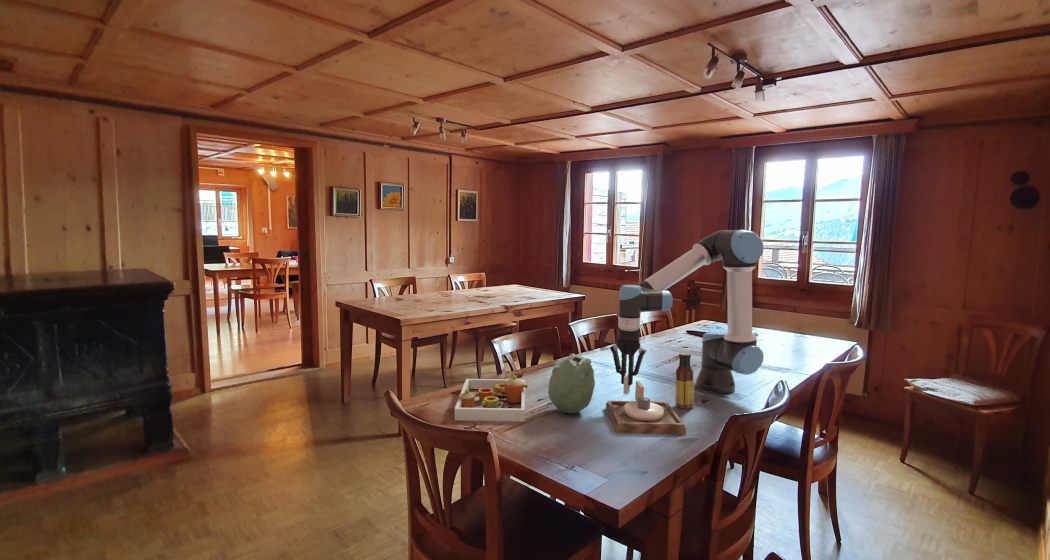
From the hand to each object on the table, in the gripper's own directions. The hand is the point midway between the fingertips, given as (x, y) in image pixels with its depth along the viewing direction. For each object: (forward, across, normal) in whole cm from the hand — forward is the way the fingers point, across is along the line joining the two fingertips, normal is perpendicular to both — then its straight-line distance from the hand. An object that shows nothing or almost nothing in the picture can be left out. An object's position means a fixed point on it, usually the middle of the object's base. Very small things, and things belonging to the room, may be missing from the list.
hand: (626, 393), depth 184 cm
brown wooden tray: (+6, +8, -8) cm, 13 cm away
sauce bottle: (+6, +18, +12) cm, 23 cm away
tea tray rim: (+6, -44, -20) cm, 49 cm away
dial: (+3, +7, -6) cm, 10 cm away
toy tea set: (+6, -44, -20) cm, 49 cm away
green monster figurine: (+6, -16, -13) cm, 22 cm away
